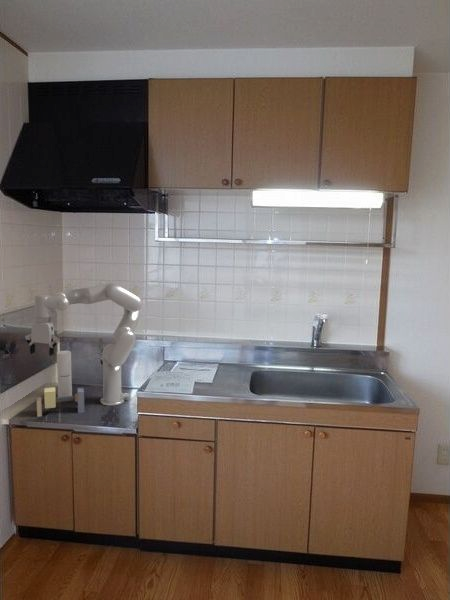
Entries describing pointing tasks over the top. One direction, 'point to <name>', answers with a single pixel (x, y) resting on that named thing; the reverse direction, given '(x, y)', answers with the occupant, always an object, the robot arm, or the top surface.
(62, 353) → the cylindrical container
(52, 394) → the pale yellow block
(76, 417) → the top surface
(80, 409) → the grey h-shaped piece
